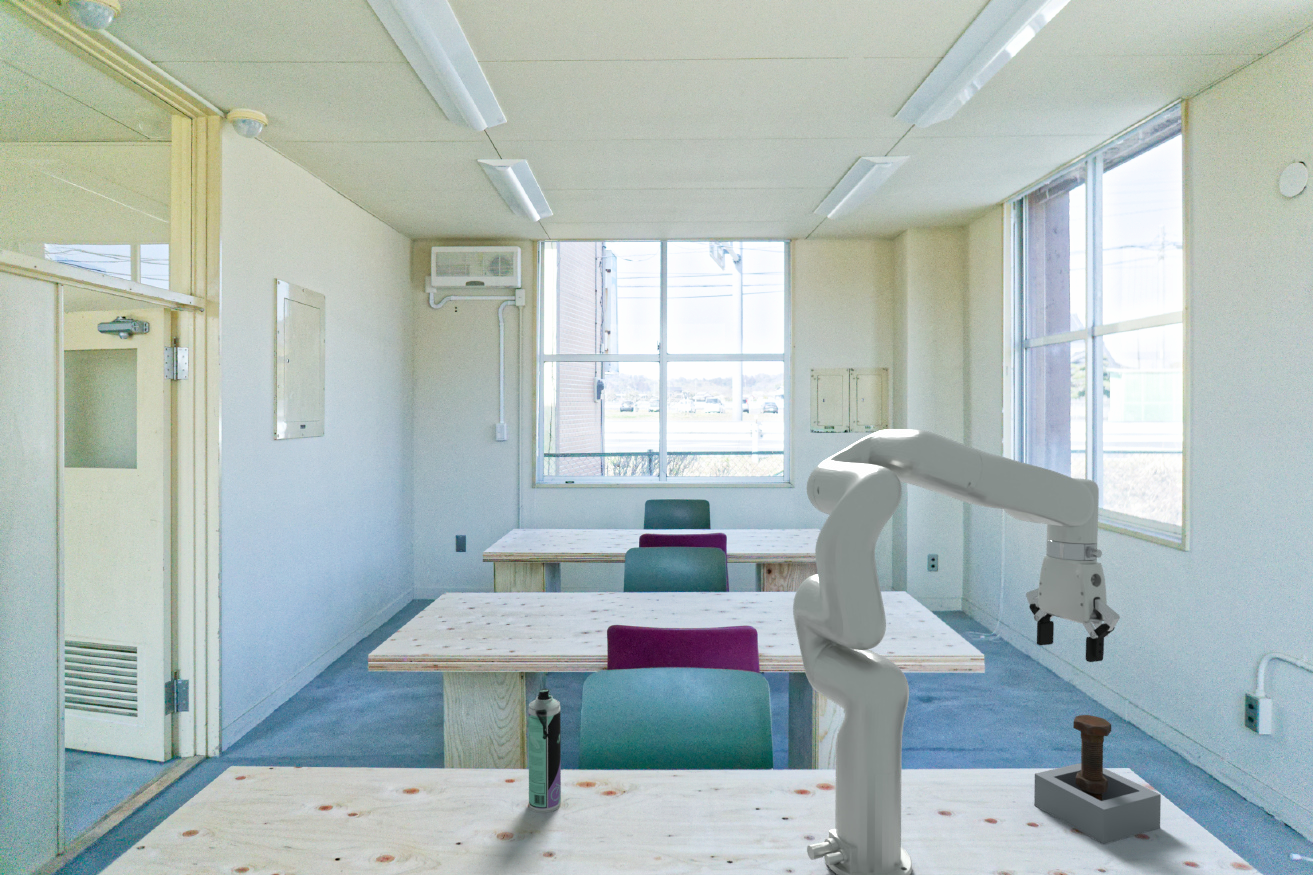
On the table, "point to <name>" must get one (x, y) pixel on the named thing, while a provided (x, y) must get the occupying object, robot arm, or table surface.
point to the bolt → (1092, 754)
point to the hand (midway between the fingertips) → (1068, 652)
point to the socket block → (1098, 804)
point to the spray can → (544, 753)
